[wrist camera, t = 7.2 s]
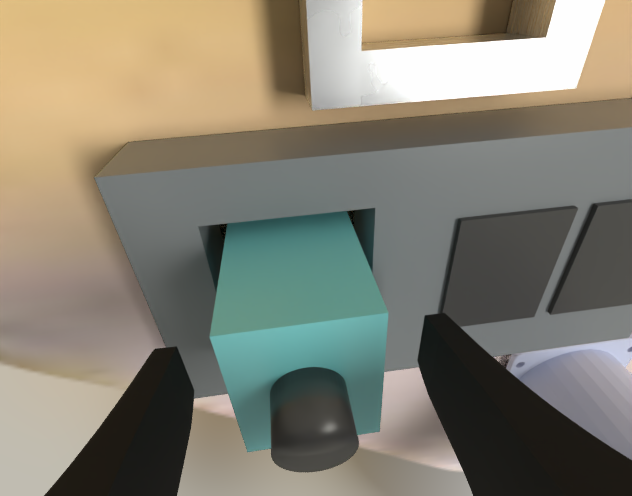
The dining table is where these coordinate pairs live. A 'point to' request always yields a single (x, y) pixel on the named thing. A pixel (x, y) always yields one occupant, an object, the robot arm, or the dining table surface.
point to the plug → (300, 338)
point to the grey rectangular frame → (443, 56)
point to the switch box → (402, 221)
